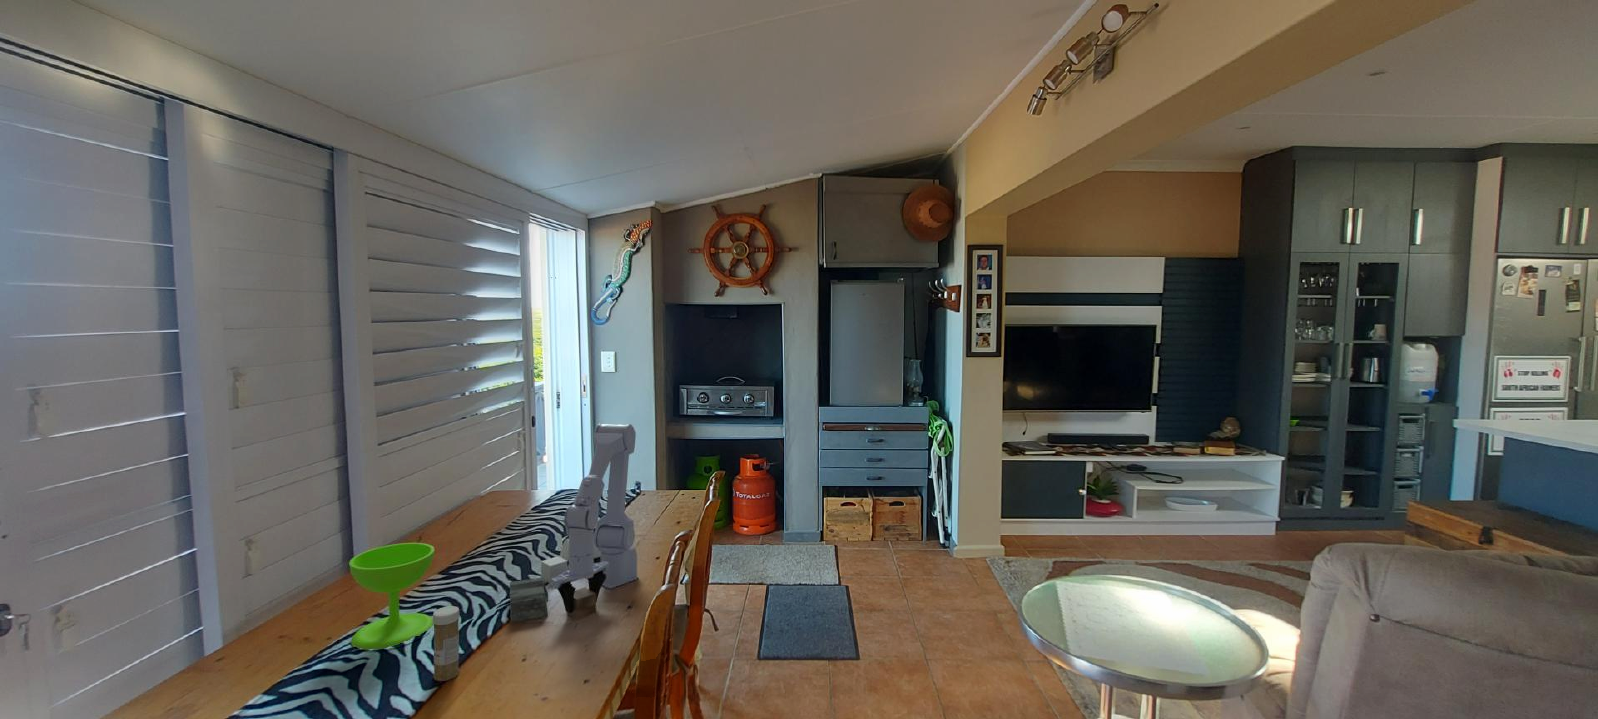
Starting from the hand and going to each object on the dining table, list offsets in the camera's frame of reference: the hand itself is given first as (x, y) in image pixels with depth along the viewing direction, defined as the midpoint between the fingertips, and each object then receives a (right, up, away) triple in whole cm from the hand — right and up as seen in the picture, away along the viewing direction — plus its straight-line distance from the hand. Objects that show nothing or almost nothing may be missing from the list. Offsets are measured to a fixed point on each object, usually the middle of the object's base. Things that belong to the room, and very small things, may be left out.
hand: (581, 607), depth 147 cm
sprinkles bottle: (-17, -3, -27) cm, 32 cm away
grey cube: (-15, 0, +20) cm, 25 cm away
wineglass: (-39, -1, -11) cm, 40 cm away
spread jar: (-12, 0, +33) cm, 35 cm away
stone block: (-14, -2, +3) cm, 14 cm away
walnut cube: (0, -2, 0) cm, 2 cm away
